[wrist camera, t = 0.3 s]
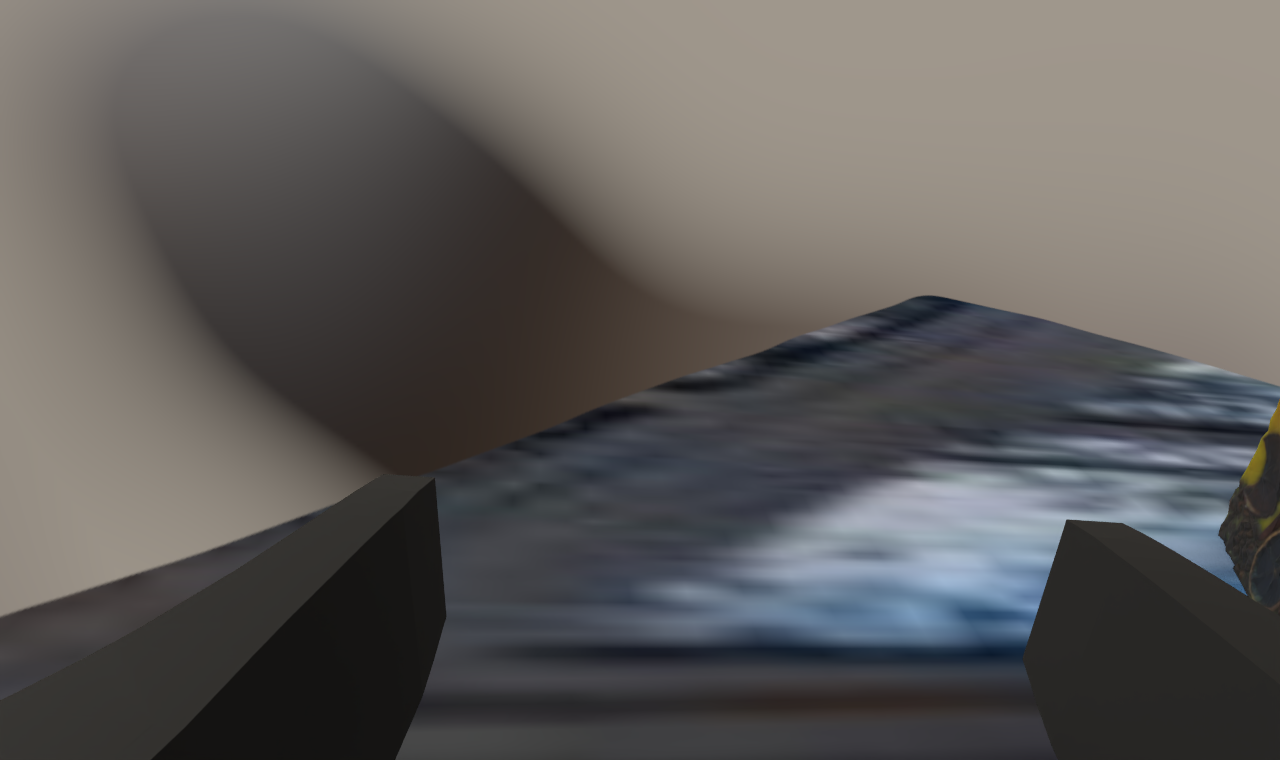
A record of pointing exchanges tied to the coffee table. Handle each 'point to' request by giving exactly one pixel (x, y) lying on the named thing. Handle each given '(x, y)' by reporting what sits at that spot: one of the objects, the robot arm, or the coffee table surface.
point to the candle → (1258, 522)
